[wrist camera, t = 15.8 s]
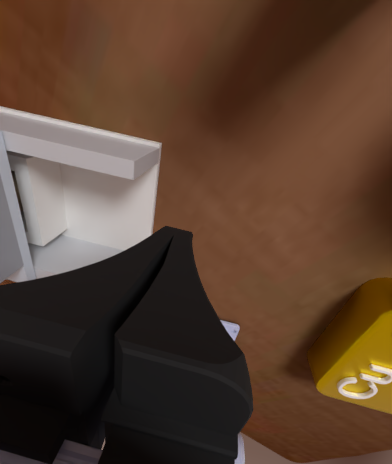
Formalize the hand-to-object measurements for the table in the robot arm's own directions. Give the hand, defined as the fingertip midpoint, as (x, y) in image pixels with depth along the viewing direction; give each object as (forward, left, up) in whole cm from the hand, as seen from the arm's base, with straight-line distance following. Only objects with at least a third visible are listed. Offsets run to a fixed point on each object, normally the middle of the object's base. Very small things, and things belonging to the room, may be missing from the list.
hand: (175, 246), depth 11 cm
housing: (-4, +13, -10) cm, 17 cm away
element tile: (-13, -25, -11) cm, 30 cm away
